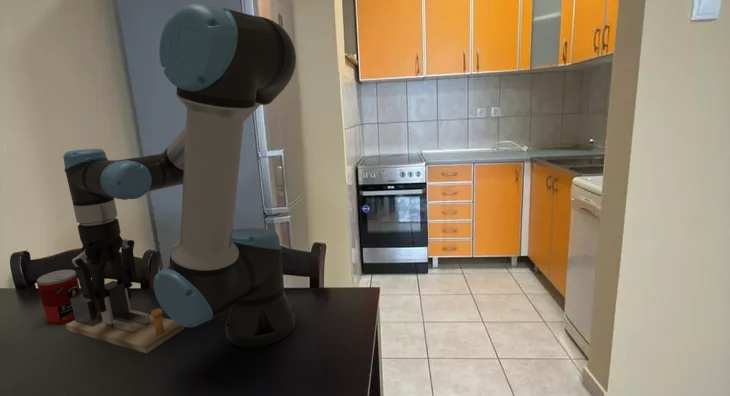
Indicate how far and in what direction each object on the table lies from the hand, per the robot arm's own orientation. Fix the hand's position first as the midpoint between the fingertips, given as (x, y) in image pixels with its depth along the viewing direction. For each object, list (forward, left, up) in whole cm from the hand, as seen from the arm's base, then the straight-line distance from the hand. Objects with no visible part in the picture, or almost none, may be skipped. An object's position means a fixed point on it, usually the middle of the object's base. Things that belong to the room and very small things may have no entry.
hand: (117, 317), depth 93 cm
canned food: (+18, +1, -3) cm, 18 cm away
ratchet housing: (+7, 0, -1) cm, 7 cm away
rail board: (-3, 0, -3) cm, 4 cm away
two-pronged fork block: (+2, 0, -1) cm, 2 cm away
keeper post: (-13, 0, -1) cm, 14 cm away
